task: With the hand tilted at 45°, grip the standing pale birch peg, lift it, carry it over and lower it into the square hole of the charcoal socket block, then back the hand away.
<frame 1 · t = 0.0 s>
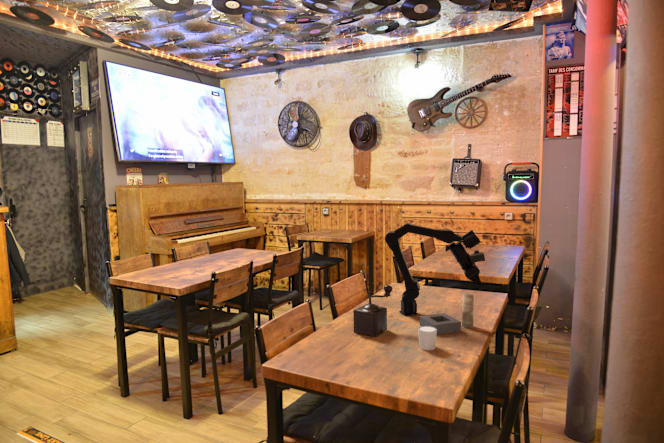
hand: (480, 284, 187), 15 cm above the table, tool tilted 35°, fingers open, 9 cm apart
peg: (467, 326, 176), on the table
pepper mill: (374, 329, 174), on the table
socket: (439, 328, 174), on the table
shot glass: (427, 347, 155), on the table
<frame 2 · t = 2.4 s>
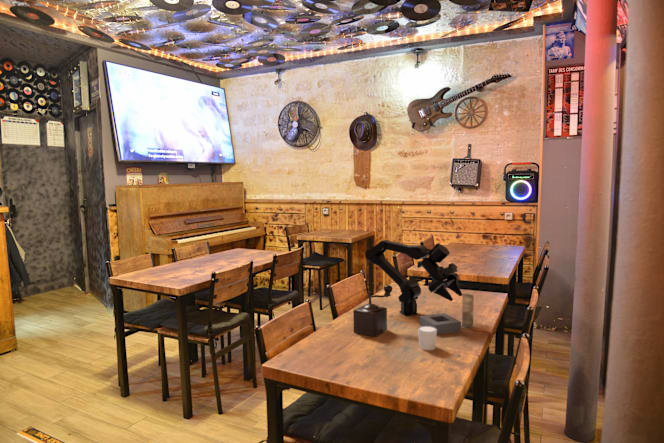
hand: (457, 298, 178), 11 cm above the table, tool tilted 45°, fingers open, 9 cm apart
nothing on the table moved.
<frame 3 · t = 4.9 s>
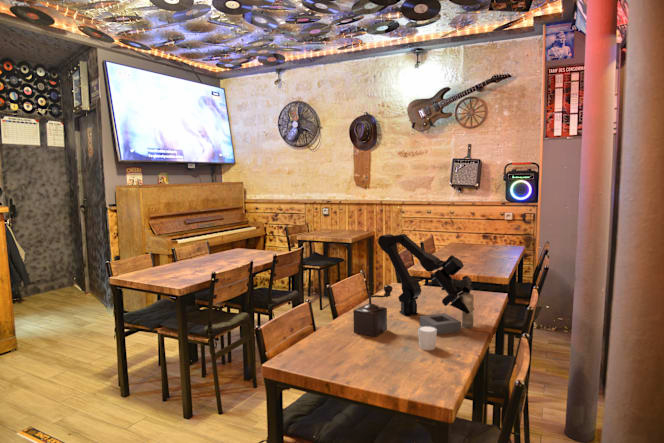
hand: (471, 311, 174), 7 cm above the table, tool tilted 45°, fingers closed on peg, 4 cm apart
peg: (467, 326, 176), on the table, touching gripper
everything else where it was.
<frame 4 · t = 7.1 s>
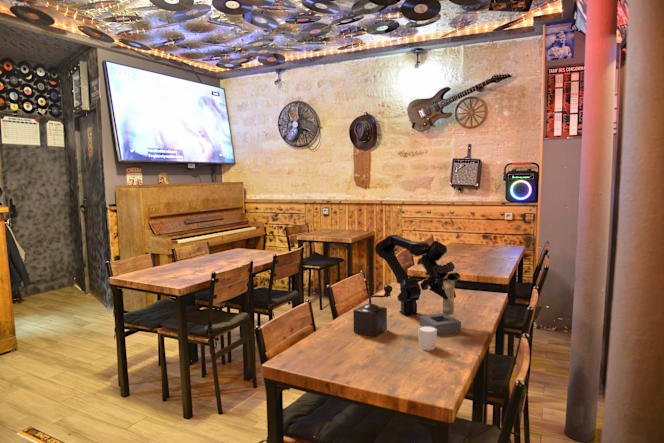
hand: (451, 298, 172), 13 cm above the table, tool tilted 45°, fingers closed on peg, 4 cm apart
peg: (448, 313, 174), point 6 cm above the table, touching gripper
everything else where it was.
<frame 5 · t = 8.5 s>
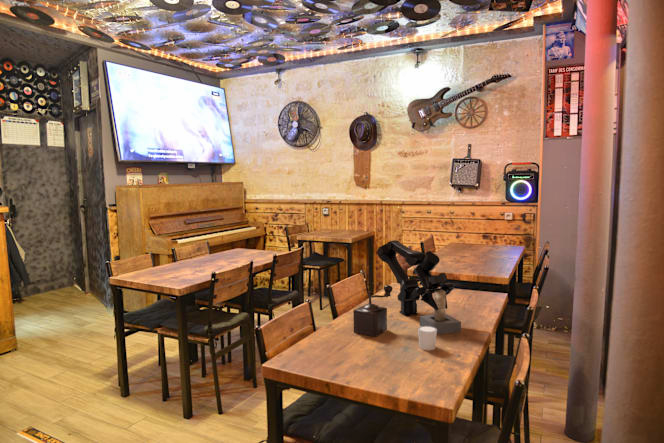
hand: (442, 309, 172), 8 cm above the table, tool tilted 45°, fingers closed on peg, 4 cm apart
peg: (439, 323, 174), point 2 cm above the table, touching gripper
everything else where it was.
when the fingers open (8 cm above the table, at t = 9.4 s): peg drops 1 cm, resting in socket.
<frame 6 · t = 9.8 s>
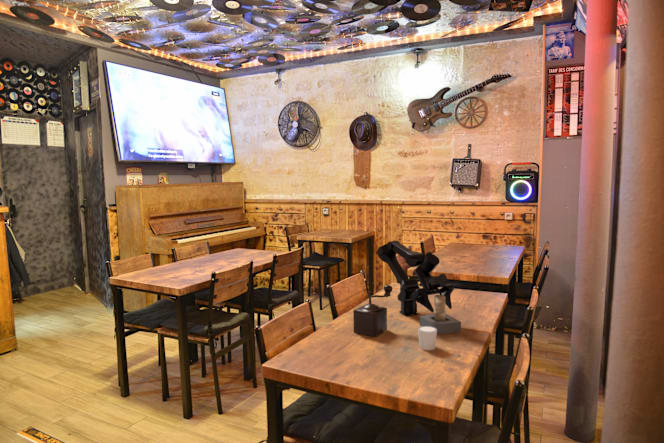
hand: (442, 310, 172), 8 cm above the table, tool tilted 45°, fingers open, 9 cm apart
peg: (439, 328, 174), resting in socket
everything else where it was.
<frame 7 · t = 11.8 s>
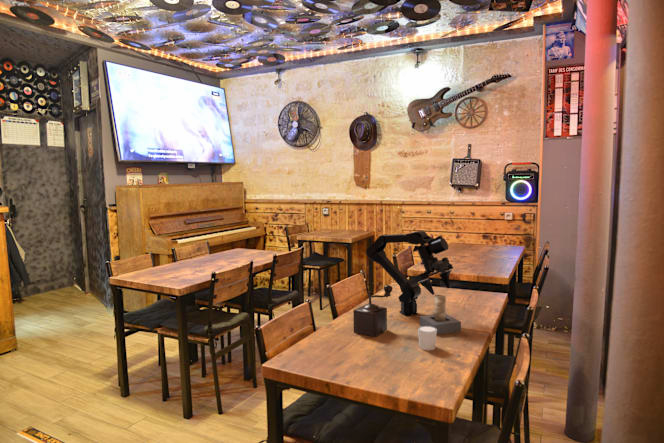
hand: (441, 291, 183), 13 cm above the table, tool tilted 25°, fingers open, 9 cm apart
nothing on the table moved.
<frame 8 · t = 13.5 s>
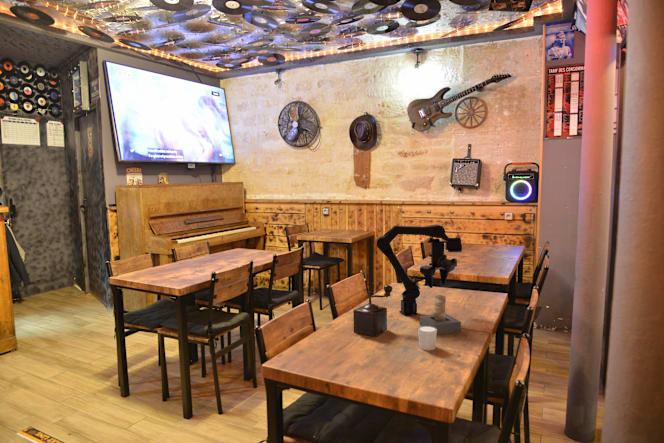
hand: (437, 286, 192), 13 cm above the table, tool pointing down, fingers open, 9 cm apart
nothing on the table moved.
at the end: peg 0.1 cm off-centre on the socket, point 0.0 cm above the socket's base; peg tilted 0°; the gripper is holding nothing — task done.
